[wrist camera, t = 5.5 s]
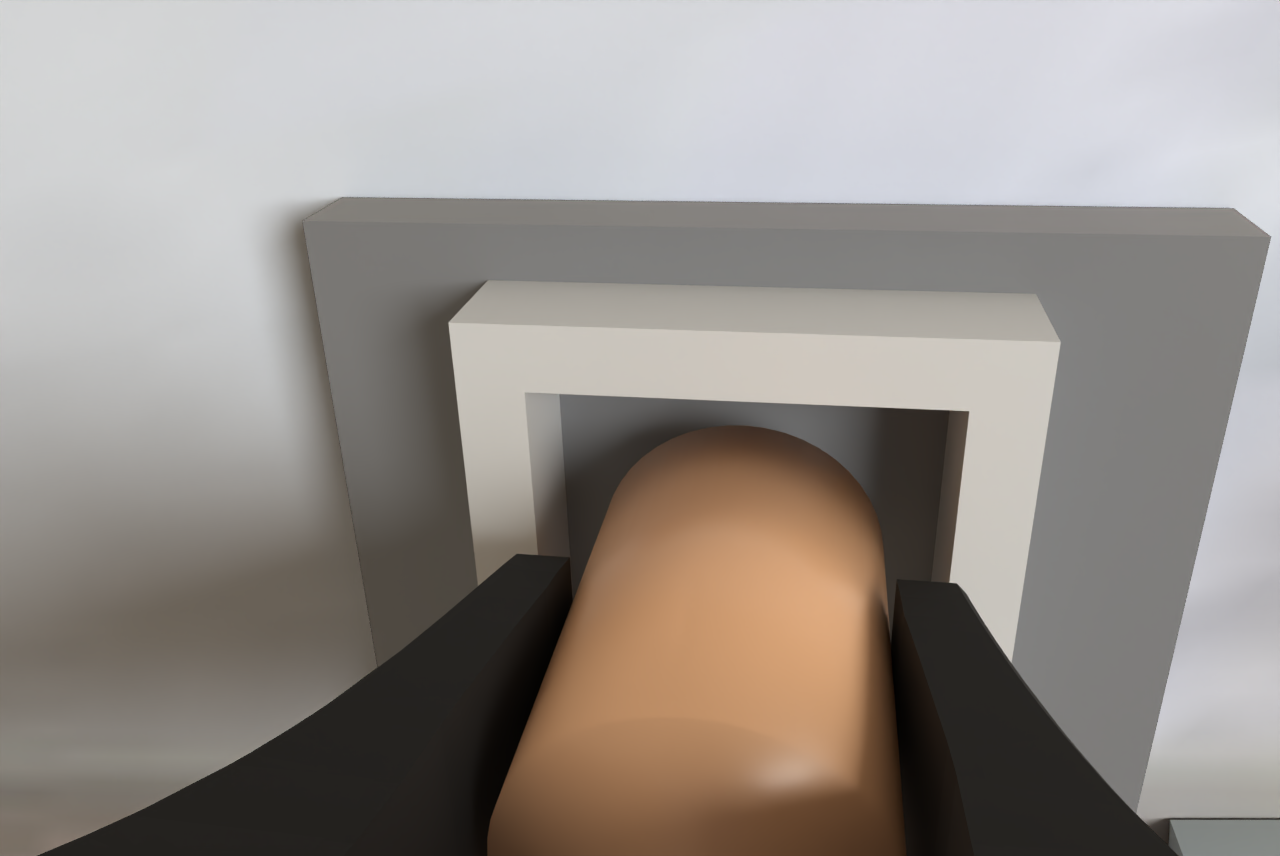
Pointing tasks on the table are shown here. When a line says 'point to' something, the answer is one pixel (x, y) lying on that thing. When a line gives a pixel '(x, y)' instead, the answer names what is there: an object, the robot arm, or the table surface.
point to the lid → (1225, 837)
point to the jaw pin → (718, 669)
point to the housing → (806, 399)
